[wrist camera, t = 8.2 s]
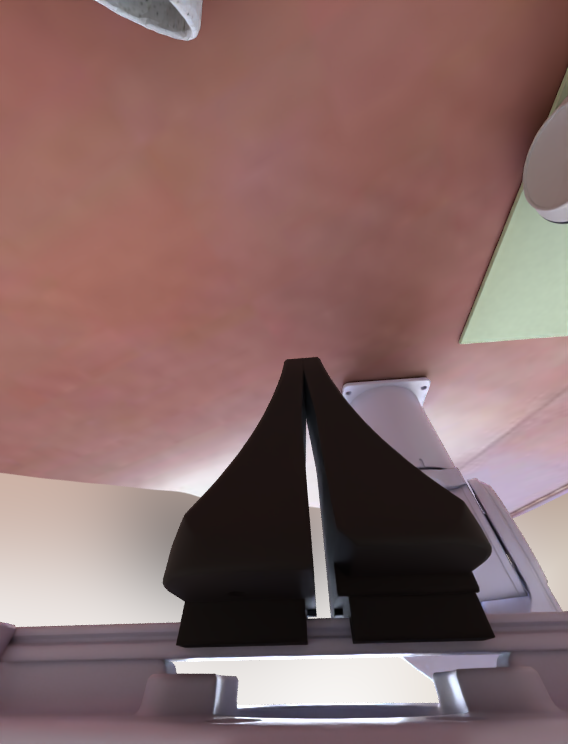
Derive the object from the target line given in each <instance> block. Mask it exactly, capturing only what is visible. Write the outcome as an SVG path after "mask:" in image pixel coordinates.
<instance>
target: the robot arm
mask: <svg viewBox="0 0 568 744" xmlns="http://www.w3.org/2000/svg"><path fill="white" fill-rule="evenodd" d="M430 383H431V381H430V380H429V378H427V377H422V378H409V379H395V380H381V381H367V382H354V383H346V384H345V385H344V386H343V393H342V394H341V392H340V391H339V390H338V388H337V387H336V386H335V384H334V383H333V381H332V380H331V378H330V377H329V375H328V373H327V372H326V370H325V368H324V366H323V364H322V362H321V360H320V359H319V358H318V357H312V358H299V359H287V360H286V361H285V362H284V366H283V370H282V374H281V377H280V380H279V382H278V385H277V387H276V390H275V392H274V395H273V397H272V399H271V401H270V403H269V405H268V407H267V409H266V411H265V413H264V415H263V417H262V418H261V420H260V422H259V424H258V425H257V427H256V428H255V430H254V432H253V433H252V435H251V436H250V438H249V439H248V441H247V442H246V444H245V445H244V446H243V448H242V449H241V451H240V452H239V453H238V455H237V456H236V457H235V459H234V460H233V461H232V462H231V464H230V465H229V466H228V467H227V468H226V470H225V471H224V472H223V473H222V475H221V476H220V477H219V478H218V479H217V481H216V482H215V483H214V484H213V485H212V486H211V487H210V488H209V489H208V491H207V492H206V493H205V494H204V495H203V496H202V497H201V498H200V499H199V500H198V501H197V502H196V503H195V504H194V505H193V506H192V507H191V508H190V509H189V511H188V512H187V513H186V514H185V515H184V518H183V520H182V522H181V524H180V527H179V529H178V532H177V535H176V537H175V540H174V542H173V545H172V548H171V552H170V555H169V559H168V563H167V567H166V570H165V574H164V578H163V585H164V587H165V588H166V589H167V590H168V591H169V592H171V593H172V594H174V595H176V596H177V597H179V598H180V599H182V600H183V601H185V605H184V609H183V614H182V619H181V622H179V623H147V624H146V623H145V624H113V625H111V624H110V625H75V626H41V627H15V625H12V624H8V623H2V622H0V744H568V611H564V612H563V611H562V609H561V608H560V606H559V604H558V602H557V601H556V599H555V597H554V595H553V594H552V592H551V590H550V588H549V586H548V585H547V583H548V581H547V579H546V576H545V574H544V572H543V570H542V568H541V566H540V565H539V563H538V561H537V559H536V557H535V556H534V554H533V552H532V550H531V549H530V547H529V545H528V543H527V542H526V540H525V538H524V537H523V535H522V533H521V532H520V530H519V528H518V527H517V525H516V524H515V522H514V520H513V519H512V517H511V515H510V514H509V512H508V511H507V509H506V508H505V506H504V504H503V503H502V501H501V500H500V498H499V497H498V496H497V494H496V493H495V491H494V490H493V489H492V487H491V486H490V485H488V484H486V483H484V482H480V481H479V480H478V479H476V478H473V479H470V480H468V483H469V485H470V487H471V488H472V490H473V492H474V494H475V498H476V499H477V501H478V503H479V505H480V506H479V505H478V503H477V501H476V499H475V498H474V496H473V494H472V492H471V491H470V489H469V487H468V485H467V484H466V482H465V480H464V478H463V476H462V475H461V473H460V471H459V469H458V468H457V467H455V466H454V464H453V462H452V460H451V458H450V457H449V455H448V453H447V451H446V449H445V447H444V446H443V444H442V442H441V440H440V438H439V437H438V435H437V433H436V431H435V429H434V428H433V426H432V424H431V422H430V420H429V419H428V417H427V415H426V413H425V411H424V410H423V408H422V405H423V403H424V400H425V397H426V394H427V391H428V389H429V386H430ZM422 386H423V387H422ZM347 391H349V392H347ZM306 419H307V425H308V430H309V435H310V440H311V445H312V450H313V455H314V460H315V466H316V472H317V479H318V489H319V498H320V508H321V518H322V527H323V538H324V549H325V559H326V568H327V569H326V570H327V580H328V591H329V602H330V611H331V618H321V619H320V618H318V619H308V617H316V615H317V614H316V600H315V583H314V567H313V554H312V542H311V531H310V530H311V529H310V517H309V505H308V493H307V480H306ZM480 507H481V508H480ZM481 509H482V510H481ZM482 511H483V512H482ZM483 513H484V514H483ZM506 554H507V555H506ZM507 556H508V557H509V559H510V560H509V559H508V557H507ZM510 561H511V562H510ZM511 563H512V564H511ZM353 657H354V658H355V657H401V658H403V659H404V660H405V661H407V662H408V663H409V664H410V665H411V666H413V667H414V668H416V669H417V670H418V671H420V672H421V673H422V674H424V675H425V676H426V677H428V678H429V679H431V680H432V681H433V682H434V684H435V687H436V691H437V694H438V698H439V703H327V704H325V703H324V704H279V705H240V706H237V689H238V679H237V677H236V676H221V675H216V674H177V673H176V668H175V666H174V664H173V663H172V662H170V661H214V660H260V659H261V660H262V659H308V658H353Z"/></svg>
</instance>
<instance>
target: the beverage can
mask: <svg viewBox="0 0 568 744" xmlns="http://www.w3.org/2000/svg"><path fill="white" fill-rule="evenodd" d="M523 191H524V194H525V197H526V199H527V201H528V203H529V204H530V205H531V206H532V207H533V208H535V209H536V211H537V212H538V213H539V214H540V215H541V216H542V217H543V218H544V219H546V220H547V221H550V222H552V223H556V224H568V96H567V97H566V98H565V99H564V101H563V102H562V103H561V104H560V105H559V107H558V108H557V109H556V110H555V111H554V112H553V113H552V114H551V115H550V116H549V117H548V119H547V120H546V121H545V122H544V124H543V125H542V126H541V128H540V129H539V131H538V133H537V134H536V136H535V138H534V140H533V142H532V144H531V146H530V149H529V151H528V154H527V157H526V161H525V165H524V170H523Z"/></svg>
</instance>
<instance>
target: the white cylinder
mask: <svg viewBox="0 0 568 744" xmlns="http://www.w3.org/2000/svg"><path fill="white" fill-rule="evenodd" d="M95 1H97V2H98V3H100V4H102V5H104V6H106V7H107V8H109V9H110V10H112V11H113V12H115V13H117V14H119V15H121V16H123V17H125V18H127V19H129V20H131V21H133V22H136V23H138V24H140V25H142V26H144V27H145V28H147V29H150V30H154V31H156V32H157V33H160V34H163V35H167V36H170V37H172V38H175V39H181V40H186V41H189V40H192V39H194V38H196V37H197V35H198V32H199V30H200V26H201V14H202V2H203V0H95Z"/></svg>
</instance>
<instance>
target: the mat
mask: <svg viewBox="0 0 568 744" xmlns="http://www.w3.org/2000/svg"><path fill="white" fill-rule="evenodd" d="M567 96H568V68H567V71H566V73H565V76H564V78H563V81H562V83H561V86H560V88H559V91H558V93H557V96H556V98H555V101H554V103H553V106H552V109H551V111H550V114H549V116H550V115H551V114H552V113H553V112H554V111H555V110H556V109H557V108H558V107H559V105H560V104H561V103H562V102H563V101H564V99H565V98H566V97H567ZM549 116H548V117H549ZM559 336H568V224H556V223H552V222H550V221H547V220H546V219H544V218H543V217H542V216H541V215H540V214H539V213H538V212H537V211H536V209H535V208H533V207H532V206H531V205H530V204H529V203H528V201H527V199H526V197H525V194H524V191H523V182H522V184H521V187H520V189H519V192H518V194H517V197H516V199H515V202H514V204H513V207H512V209H511V212H510V214H509V217H508V219H507V222H506V224H505V227H504V229H503V232H502V234H501V237H500V239H499V242H498V245H497V247H496V250H495V252H494V255H493V257H492V260H491V262H490V265H489V267H488V270H487V272H486V275H485V277H484V280H483V282H482V285H481V287H480V290H479V292H478V295H477V297H476V300H475V302H474V305H473V307H472V310H471V312H470V315H469V318H468V320H467V323H466V325H465V328H464V330H463V333H462V335H461V338H460V340H459V343H460V344H469V343H482V342H495V341H508V340H520V339H533V338H546V337H559Z"/></svg>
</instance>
